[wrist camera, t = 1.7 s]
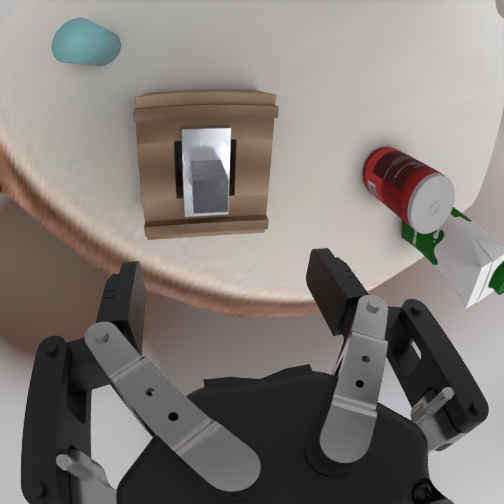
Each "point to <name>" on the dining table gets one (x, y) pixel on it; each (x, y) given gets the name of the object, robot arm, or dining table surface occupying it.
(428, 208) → the canned food
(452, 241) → the milk carton
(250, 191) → the socket block
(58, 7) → the dining table surface
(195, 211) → the latch bar
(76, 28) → the dowel
